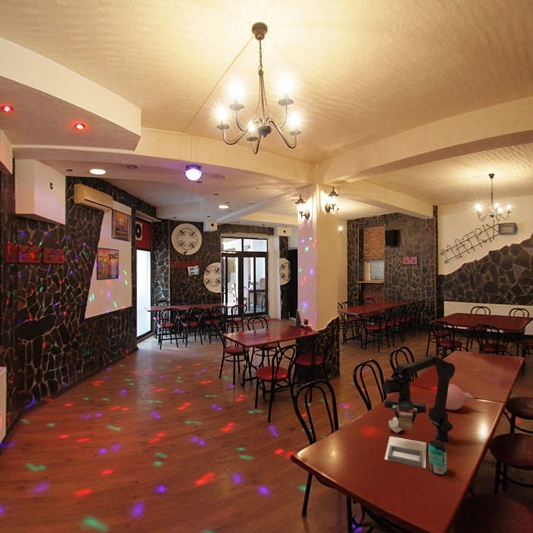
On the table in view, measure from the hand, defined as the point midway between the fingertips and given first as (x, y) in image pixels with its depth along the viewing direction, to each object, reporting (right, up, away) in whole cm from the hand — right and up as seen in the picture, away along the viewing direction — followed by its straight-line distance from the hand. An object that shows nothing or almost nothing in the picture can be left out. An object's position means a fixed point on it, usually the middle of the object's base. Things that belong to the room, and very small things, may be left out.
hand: (405, 422), depth 162 cm
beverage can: (+5, -11, -21) cm, 24 cm away
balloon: (+47, -11, +39) cm, 62 cm away
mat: (-2, -12, -5) cm, 13 cm away
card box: (0, -1, 0) cm, 1 cm away
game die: (+1, -12, +14) cm, 19 cm away
